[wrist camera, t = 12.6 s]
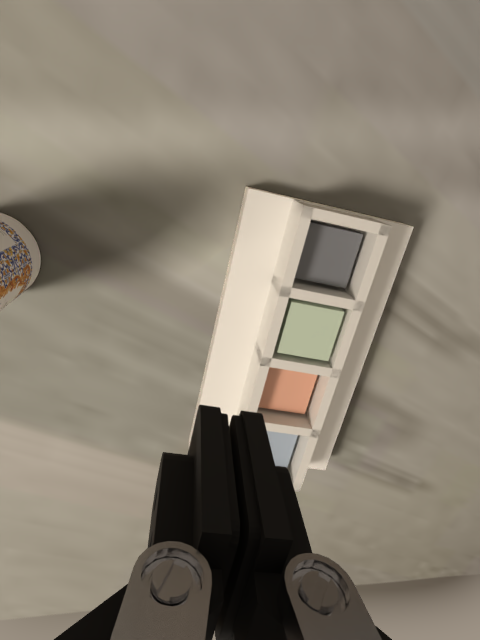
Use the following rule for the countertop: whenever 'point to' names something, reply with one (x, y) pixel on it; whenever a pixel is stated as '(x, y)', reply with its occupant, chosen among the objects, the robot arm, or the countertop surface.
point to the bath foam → (16, 259)
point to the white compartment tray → (269, 308)
